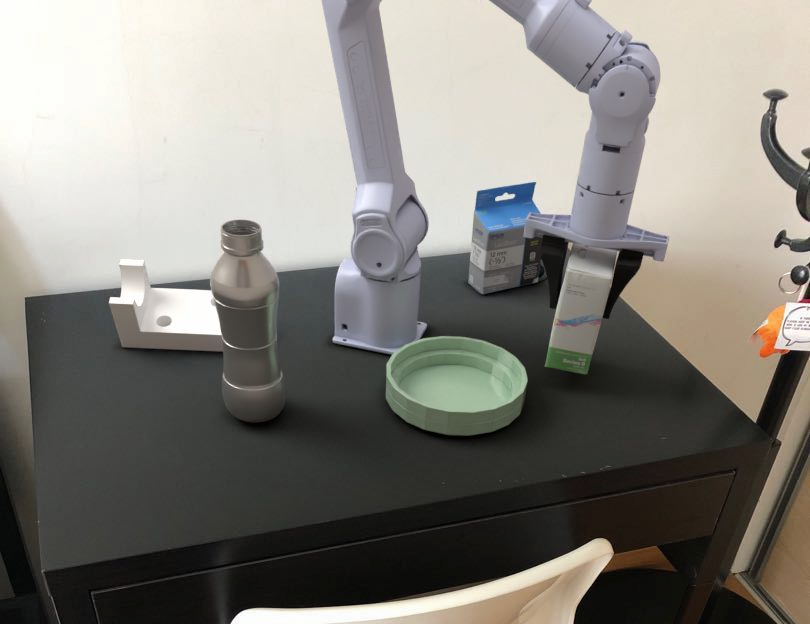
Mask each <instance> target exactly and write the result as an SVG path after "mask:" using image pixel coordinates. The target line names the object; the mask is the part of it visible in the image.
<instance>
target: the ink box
mask: <svg viewBox="0 0 810 624" xmlns="http://www.w3.org/2000/svg"><path fill="white" fill-rule="evenodd" d="M617 256H618V251H615V250H610V249H604V248H598V247H591V246H586V245H581V244H576V243H572V245H571V249H570V253H569V256H568V260H567V263H566V268H565V271H564V273H563V274H564V275H563V277H562V284H561V291H560V295H559V299H558V304H557V307H556V309H555V314H554V317H553V323H552V327H551V332H550V338H549V343H548V349H547V352H546V359H545V363H544V368H549V369H556V370H561V371H566V372H571V373H576V374H581V375H588V373H589V369H590V365H591V361H592V357H593V353H594V350H595V347H596V343H597V340H598V335H599V332H600V328H601V324H602V320H603V318H602V317H603V314H604V310H605V306H606V302H607V299H608V295H609V292H610V289H611V284H612V280H613V275H614V270H615V265H616V261H617Z"/></svg>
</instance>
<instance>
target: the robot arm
mask: <svg viewBox="0 0 810 624" xmlns="http://www.w3.org/2000/svg"><path fill="white" fill-rule="evenodd" d="M382 1H383V0H321V5H322V11H323V16H324V20H325V26H326V31H327V37H328V41H329V46H330V52H331V57H332V63H333V68H334V73H335V77H336V78H335V79H336V83H337V88H338V92H339V98H340V103H341V109H342V112H343V113H342V114H343V119H344V124H345V129H346V136H347V140H348V145H349V151H350V155H351V160H352V165H353V171H354V176H355V183H356V191H355V195H354V201H353V205H352V209H351V210H352V211H351V218H352V223H353V233H352V237H351V240H350V254H351V257H345V258H343V260H342V261H341V263H340V265H339V267H338V269H337V273H336V278H335V283H334V336H333V337H332V343H333V344H337V345H343V346H345V347H346V346H347V347H351V348H356V349H362V350H366V351H370V352H371V351H372V352H376V353H381V354H386V355H391V356H392V354H393V353H394V352H396V351H397V350H398V349H400V348H401V347H403V346H404V345H406V344H408V343H411V342H414V341H417V340H420V339H422V337H423V335H424V333H425V331H426V330H427V328H428V323H426V322H423V321H418V320H419V306H420V305H419V304H420V293H421V292H420V291H421V290H420V289H421V277H422V276H421V275H422V274H421V273H422V261H421V258H420V255H419V251H418V249H419V248H418V247H419V245H420V244H421V243H422V242H423V241H424V240H425V238H426V236H427V235H428V231H429V223H430V222H429V217H428V213H427V211H426V209H425V207H424V205H423V204H422V203H421V202H420V200H419V197H418V195H417V194H418V193H417V190H416V183H415V182H414V180H413V179H412V178H411V176H410V175H408V174H407V172H406V168H405V163H404V156H403V150H402V144H401V137H400V131H399V125H398V119H397V112H396V106H395V105H396V104H395V99H394V94H393V93H394V92H393V87H392V81H391V74H390V68H389V62H388V61H389V60H388V55H387V50H386V43H385V37H384V30H383V24H382V18H381V12H380V5H381V3H382ZM488 1H489V2H490V3H492V4H493V5H495V6H496V7H497V8H499V9H500V10H501V11H503V12H504V13H505V14H507V15H508V16H509V17H510V18H512V19H514V20H515V21H516V23H517V22H518V23H519V24H520V25H521V26H522V29H523V31H524V37H525V45H526V49H527V50H528V51H529V52H531V53H532V54H533V55H534V56H535V57H537V58H538V59H539V60H540V61H542V62H543V63H544V64H545V65H546V66H547V67H549V68H550V69H551V70H552V71H554V72H555V73H556V74H557V75H558V76H560V77H561V78H562V79H563V80H565V81H566V83H568V84H570V85H571V87H573V88H575V90H577V91H578V92H579V93H583V94H587V95H588V103H589V107H590V110H591V115H590V121H589V126H588V130H587V131H586V132H585V135H584V141H583V146H582V152H581V159H580V164H579V169H578V174H577V180H576V183H575V191H574V195H573V201H572V207H571V212H570V214H557V213H556V214H554V213H553V214H551V213H541V214H538V213H531V212H530V213H529V214H528V216H527V218H526V222H525V228H524V235H523V237H526V238H534V236H536V237H542V238H543V239H542V243H541V247H540V257H541V263H542V264H543V268H544V271H545V275H546V278H547V285H548V292H549V308H550V309H552V310H556V308H557V304H558V299H559V295H560V291H561V286H562V282H563V276H564V275H563V274H564V267H565V262H566V257H567V252H568V248H569V243H570V244H573V243H576V244H581V245H586V246H591V247H598V248H604V249H610V250H615V251H617V252H618V254H617V257H616V261H615V266H614V271H613V277H612V282H611V286H610V290H609V294H608V298H607V302H606V306H605V310H604V314H603V317H602V319H605V320H609V319H610V316H611V314H612V311H613V309H614V306H615V305H616V302H617V301H618V299H619V297H620V296H621V294H622V292H623V291H624V290H625V288H626V287H627V286H628V284H629V283H630V282H631V280H632V279H633V278H634V277H635V276H636V275H637V273H638V272H639V270H640V269H641V267H642V263H643V258H644V257H649V258H652V260H653V261H656V262H661V263H663V262H664V261H665V257H666V254H667V250H668V246H669V241H670V236H669V235H665V234H661V233H656V232H652V231H649V230H646V229H643V228H640V227H638V226H633V225H631V224H628V222H629V218H630V213H631V208H632V204H633V199H634V194H635V191H636V187H637V183H638V179H639V178H638V177H639V173H640V168H641V164H642V159H643V156H644V151H645V146H646V136H645V134H646V133H647V131H648V128H649V124H650V118H649V115H650V113H652V110H653V109H654V106H655V104H656V100H657V99H656V97H657V93H658V89H659V87H660V84H661V83H660V82H661V66H660V62H659V60H658V58H657V56H656V55H655V53H654V52H653V51H652V50H651V48H650V46H649V44H648V43H646V42H643V41H640V40H633V35H632V34H631V33H630V32H629V31H627V30H626V29H624V30H623V31H622V32H620V31H618V30H617V29H616V28H615V27H614V26H613V25H612V24H610V23H609V22H607V20H605V19H604V18H603V17H602V16H601V15H600V14H598V13H597V12H596V11H595V10H594V9H592V7H590V6H589V5H591V3H592V1H593V0H488Z"/></svg>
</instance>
